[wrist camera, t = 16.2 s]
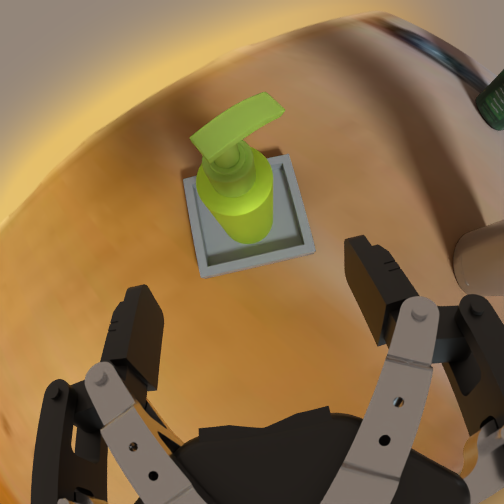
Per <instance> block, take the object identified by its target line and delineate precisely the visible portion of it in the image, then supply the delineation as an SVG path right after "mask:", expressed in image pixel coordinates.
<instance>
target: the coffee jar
mask: <svg viewBox="0 0 504 504" xmlns="http://www.w3.org/2000/svg"><path fill="white" fill-rule="evenodd" d="M476 104H477V107H478V109H479V111H480V113H481V115H482V116H483V118H484V119H485V120H486V122H487V123H489V125H490V126H491V127H492V128H494V129H495V130H498V131H499V130H504V69H503V71H502V72H501V73H500V74H499V75H498V76H497V77H496V78H495V79H494V80H493V81H492V82H491V83H490V84H489V85H488V86H487V88H486V89H485V90H484V91H483V92H482V93H481V94H480V95H479V96H478V97H477V99H476Z"/></svg>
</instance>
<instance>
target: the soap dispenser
mask: <svg viewBox="0 0 504 504" xmlns="http://www.w3.org/2000/svg"><path fill="white" fill-rule="evenodd" d="M284 111H285V109H284V108H283V107H282V106H281V105H280V104H279V103H278V102H276V101H275V100H274V99H273V98H272V97H271V96H270V95H269V94H268V93H266V92H262V93H260V94H257V95H254V96H252V97H250V98H248V99H245V100H243V101H241V102H239V103H238V104H236V105H234V106H232V107H231V108H229V109H227V110H226V111H224V112H223V113H221V114H220V115H218V116H217V117H216V118H214V119H213V120H211V121H210V122H209V123H207V124H206V125H205V126H203V127H202V128H201V129H199V130H198V131H197V132H196V133H194V134H193V135H192V136H191V137H190V140H191V142H192V143H193V144H194V146H195V147H196V148H197V149H198V150H199V152H200V153H201V154H202V155H203V157H202V164H201V165H200V167H199V170H198V172H197V177H196V188H197V192H198V195H199V197H200V199H201V200H202V202H203V203H204V204H205V206H206V207H207V208H208V210H209V211H210V212H211V214H212V215H213V216H214V217H215V219H216V220H217V221H218V223H219V224H220V225H221V226H222V228H223V229H224V230H225V232H226V233H227V234H228V235H229V237H230V238H232V239H233V240H234V241H236V242H239V243H242V244H253V243H256V242H259V241H261V240H262V239H264V238H265V237H266V236H267V235H268V233H269V232H270V230H271V228H272V224H273V172H272V168H271V166H270V163H269V162H268V160H267V159H266V157H265V156H264V155H263V154H262V153H260V152H259V151H258V150H256V149H254V148H252V147H250V146H249V145H248V144H247V143H246V142H245V141H243V139H244V138H245V137H247V136H248V135H250V134H251V133H253V132H254V131H256V130H257V129H259V128H260V127H262V126H264V125H266V124H267V123H269V122H271V121H273V120H275V119H277V118H279V117H281V115H282V114H283V113H284Z"/></svg>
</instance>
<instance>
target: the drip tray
mask: <svg viewBox="0 0 504 504" xmlns="http://www.w3.org/2000/svg"><path fill="white" fill-rule="evenodd" d="M266 159H267V160H268V162H269V163H270V166H271V168H272V172H273V224H272V228H271V230H270V232H269V233H268V235H267V236H266V237H265V238H264V239H262V240H261V241H259V242H256V243H253V244H242V243H239V242H236V241H234V240H233V239H232V238H230V237H229V235H228V234H227V233H226V232H225V230H224V229H223V228H222V226H221V225H220V224H219V223H218V221H217V220H216V219H215V217H214V216H213V215H212V214H211V212H210V211H209V210H208V208H207V207H206V206H205V204H204V203H203V202H202V200H201V199H200V197H199V195H198V192H197V188H196V177H197V176H193V177H189V178H186V179H183V182H184V188H185V195H186V201H187V207H188V212H189V218H190V224H191V229H192V235H193V240H194V246H195V251H196V256H197V261H198V266H199V271H200V276H201V278H205V279H206V278H210V277H215V276H219V275H224V274H228V273H233V272H237V271H241V270H246V269H250V268H255V267H259V266H263V265H268V264H272V263H276V262H280V261H285V260H289V259H293V258H298V257H302V256H306V255H310V254H313V253H314V252H315V251H316V250H315V246H314V242H313V238H312V234H311V231H310V227H309V223H308V219H307V216H306V212H305V208H304V205H303V201H302V197H301V194H300V190H299V187H298V183H297V180H296V177H295V173H294V170H293V167H292V163H291V160H290V157H289V154H286V155H281V156H276V157H271V158H266Z"/></svg>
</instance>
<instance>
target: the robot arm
mask: <svg viewBox="0 0 504 504" xmlns="http://www.w3.org/2000/svg"><path fill="white" fill-rule="evenodd" d="M344 261H345V276H346V279H347V282H348V285H349V287H350V289H351V291H352V293H353V295H354V297H355V299H356V301H357V303H358V305H359V307H360V309H361V311H362V314H363V316H364V318H365V320H366V322H367V324H368V326H369V329H370V331H371V333H372V335H373V337H374V340H375V342H376V344H377V346H381V345H384V344H387V346H388V348H389V351H388V354H387V357H386V360H385V363H384V366H383V369H382V371H381V374H380V377H379V380H378V383H377V386H376V388H375V391H374V394H373V396H372V399H371V401H370V404H369V406H368V409H367V411H366V414H365V416H364V419H362V418H360V417H357V416H353V415H349V414H344V413H330V410H329V406H326V407H322V408H318V409H314V410H310V411H306V412H301V413H297V414H294V415H292V416H290V417H288V418H286V419H284V420H281V421H279V422H277V423H275V424H272V425H270V426H268V427H265V428H253V427H242V426H232V425H227V426H219V427H209V428H199V436H198V437H196V438H193V439H191V440H189V441H188V442H186V443H184V442H183V441H182V440H181V439H179V438H178V437H177V436H176V435H175V434H174V433H173V432H172V430H171V429H170V428H169V427H168V425H167V424H166V423H165V422H164V420H163V419H162V418H161V416H160V415H159V414H158V412H157V411H156V410H155V408H154V407H153V406H152V404H151V403H150V401H149V400H148V399H147V398H146V397H147V391H155V390H157V386H158V374H159V364H160V354H161V345H162V336H163V328H164V316H163V313H162V310H161V308H160V306H159V305H158V303H157V301H156V300H155V298H154V296H153V295H152V293H151V291H150V289H149V288H148V286H147V285H145V284H144V285H139V286H135V287H130V288H128V289H127V291H126V295H125V298H124V301H123V302H120V303H119V305H118V306H117V307H116V309H115V310H114V312H113V315H112V319H111V324H110V326H109V330H108V331H109V332H108V333H107V337H106V341H105V345H104V349H103V353H102V357H101V361H100V362H99V363H97V364H95V365H94V366H92V367H91V368H90V369H89V371H88V372H87V374H86V377H85V380H83V381H80V382H78V383H75V384H73V385H69V384H68V383H67V382H66V381H64V380H62V379H57V380H55V381H53V382H52V383H51V384H50V385H49V386H48V387H47V389H46V391H45V394H44V399H43V403H42V408H41V413H40V419H39V424H38V431H37V437H36V444H35V452H34V461H33V471H32V485H31V504H108V503H107V454H108V447H109V449H110V451H111V453H112V454H113V456H114V458H115V459H116V461H117V463H118V464H119V466H120V468H121V469H122V471H123V473H124V474H125V476H126V477H127V479H128V480H129V482H130V483H131V485H132V486H133V488H134V489H135V491H136V492H137V494H138V495H139V498H138V500H137V501H136V502H135V503H134V504H478V503H480V502H481V501H483V500H485V499H486V498H488V497H489V496H491V495H493V494H494V493H496V492H497V491H499V490H500V489H502V488H504V325H503V323H502V321H501V320H500V318H499V317H498V315H497V313H496V312H495V310H494V309H493V307H492V306H491V304H490V303H489V302H488V300H486V299H485V298H484V297H482V296H504V220H501V221H498V222H496V223H493V224H490V225H488V226H485V227H482V228H479V229H476V230H474V231H471V232H468V233H466V234H465V235H463V236H462V237H461V238H460V239H459V241H458V243H457V245H456V248H455V251H454V257H453V266H454V273H455V276H456V279H457V281H458V284H459V285H460V287H461V288H462V290H463V291H465V292H466V293H467V294H469V295H466V296H464V297H463V298H462V299H461V301H460V304H459V306H436V304H435V303H434V302H433V301H431V300H430V299H428V298H425V297H421V296H419V295H418V293H417V292H416V290H415V289H414V287H413V286H412V284H411V283H410V281H409V280H408V278H407V277H406V275H405V274H404V272H403V271H402V269H400V267H399V265H398V264H397V262H395V260H394V258H393V257H392V255H391V254H390V253H389V251H387V250H386V249H384V248H383V247H381V246H380V245H374V246H371V244H370V243H369V241H368V240H367V238H366V237H365V236H364V235H360V236H356V237H352V238H348V239H345V241H344ZM432 363H442V365H443V367H444V370H445V372H446V374H447V377H448V379H449V382H450V384H451V386H452V389H453V391H454V394H455V397H456V399H457V402H458V404H459V407H460V410H461V412H462V415H463V418H464V421H465V424H466V427H467V429H468V432H469V435H470V437H469V439H468V440H467V441H466V443H465V446H464V450H463V457H464V466H463V469H462V472H461V474H460V475H458V474H457V473H455V472H453V471H451V470H449V469H447V468H446V467H444V466H442V465H440V464H438V463H436V462H435V461H433V460H431V459H429V458H427V457H426V456H424V455H422V454H420V453H419V452H417V451H415V450H414V449H412V448H411V447H412V444H413V441H414V439H415V436H416V433H417V430H418V426H419V423H420V420H421V417H422V413H423V410H424V406H425V403H426V399H427V395H428V391H429V387H430V383H431V378H432V373H433V367H431V364H432ZM73 425H74V426H76V427H77V434H76V444H75V453H74V452H73V450H72V447H71V440H72V431H73Z"/></svg>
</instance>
